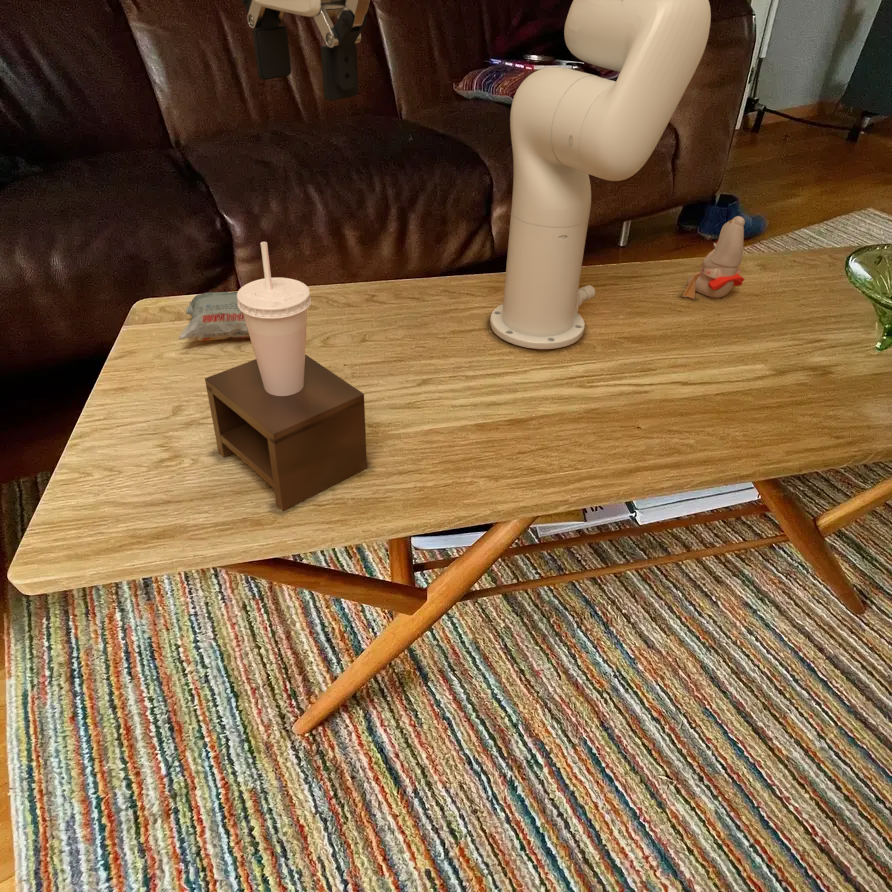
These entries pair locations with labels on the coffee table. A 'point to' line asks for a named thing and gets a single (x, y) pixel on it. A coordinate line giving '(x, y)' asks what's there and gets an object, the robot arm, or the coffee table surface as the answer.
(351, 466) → the box
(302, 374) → the smoothie
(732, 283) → the figurine
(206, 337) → the packaged food
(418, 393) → the coffee table surface
